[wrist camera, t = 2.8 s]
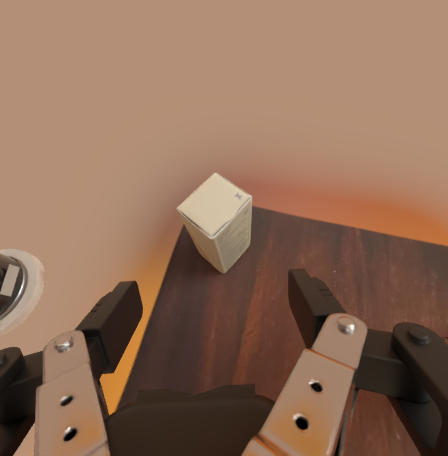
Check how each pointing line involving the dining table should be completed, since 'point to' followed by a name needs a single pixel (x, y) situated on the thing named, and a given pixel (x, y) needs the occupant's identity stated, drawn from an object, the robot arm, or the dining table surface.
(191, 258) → the dining table surface
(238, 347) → the dining table surface
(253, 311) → the dining table surface
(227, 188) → the box
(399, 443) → the dining table surface
